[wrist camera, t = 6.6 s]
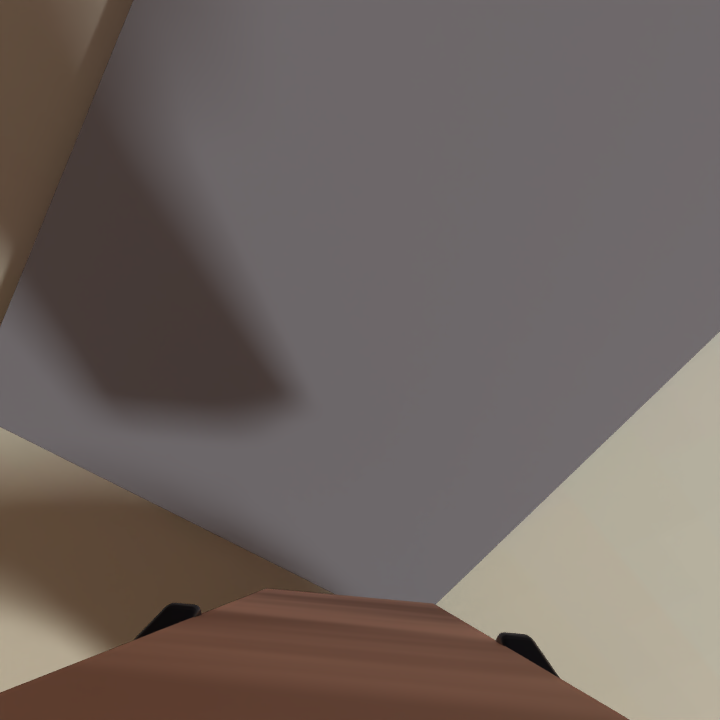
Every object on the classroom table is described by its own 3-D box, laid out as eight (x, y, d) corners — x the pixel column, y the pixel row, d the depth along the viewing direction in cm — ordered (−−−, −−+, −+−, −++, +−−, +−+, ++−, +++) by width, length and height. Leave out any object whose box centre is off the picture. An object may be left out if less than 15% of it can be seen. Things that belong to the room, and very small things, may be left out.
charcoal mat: (407, 616, 22) (407, 630, 22) (-22, 399, 19) (-34, 410, 19) (910, 125, 14) (930, 128, 14) (314, -410, 11) (310, -434, 10)
